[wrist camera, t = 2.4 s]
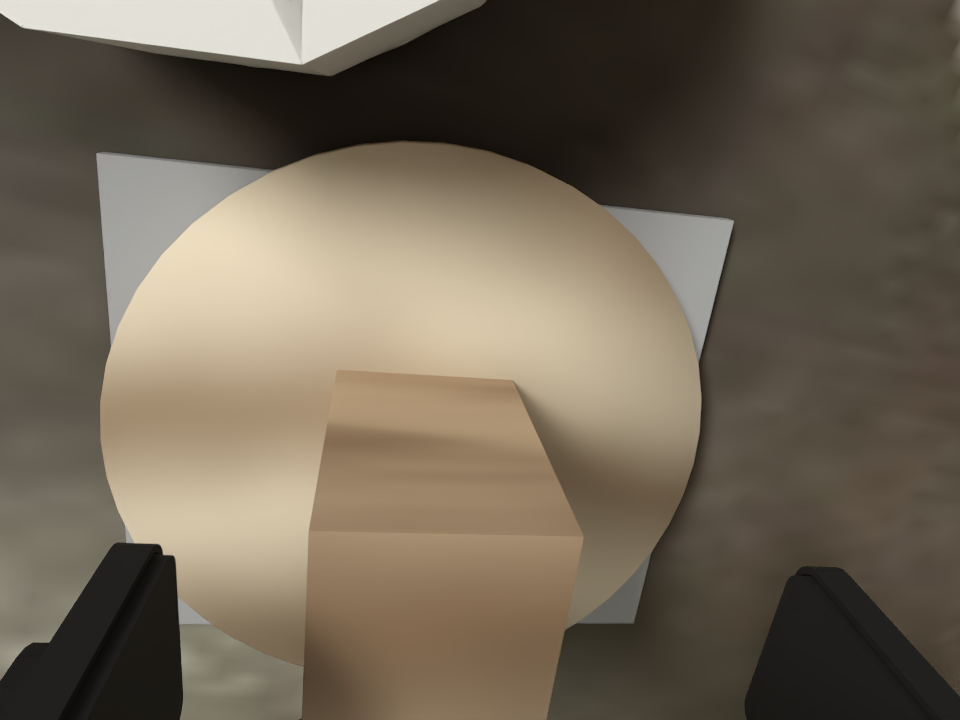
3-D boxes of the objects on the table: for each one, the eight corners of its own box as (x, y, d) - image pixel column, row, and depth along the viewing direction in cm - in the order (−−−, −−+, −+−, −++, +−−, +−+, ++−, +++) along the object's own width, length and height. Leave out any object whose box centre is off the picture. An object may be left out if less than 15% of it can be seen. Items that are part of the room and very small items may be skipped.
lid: (627, 648, 20) (739, 904, 14) (135, 653, 18) (-3, 961, 12) (744, 177, 16) (1000, 234, 9) (92, 100, 13) (-186, 103, 7)
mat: (629, 613, 20) (633, 623, 20) (138, 613, 18) (132, 624, 18) (725, 218, 16) (734, 221, 16) (104, 152, 14) (96, 153, 14)
